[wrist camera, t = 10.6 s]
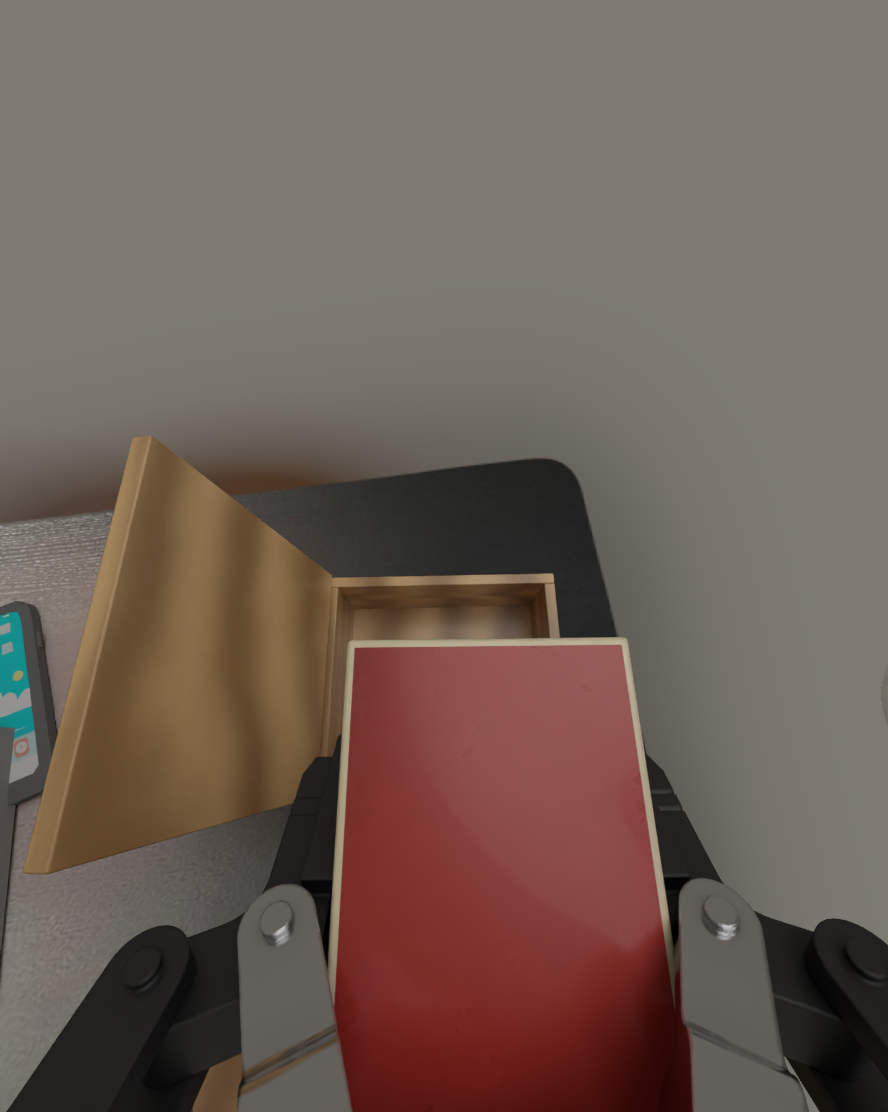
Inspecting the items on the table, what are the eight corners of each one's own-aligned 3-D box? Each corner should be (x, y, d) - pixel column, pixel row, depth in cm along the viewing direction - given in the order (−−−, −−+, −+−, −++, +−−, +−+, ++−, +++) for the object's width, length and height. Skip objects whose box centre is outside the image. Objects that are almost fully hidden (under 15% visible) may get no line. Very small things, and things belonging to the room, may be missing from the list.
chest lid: (151, 433, 17) (131, 436, 17) (46, 875, 12) (19, 875, 12) (332, 574, 32) (321, 575, 32) (317, 796, 27) (304, 796, 27)
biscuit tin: (531, 689, 20) (628, 635, 9) (549, 928, 17) (719, 1233, 6) (397, 690, 20) (346, 639, 9) (391, 931, 17) (308, 1241, 6)
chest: (536, 599, 39) (553, 573, 32) (552, 780, 34) (576, 790, 28) (347, 603, 39) (328, 577, 32) (337, 784, 34) (312, 795, 28)
